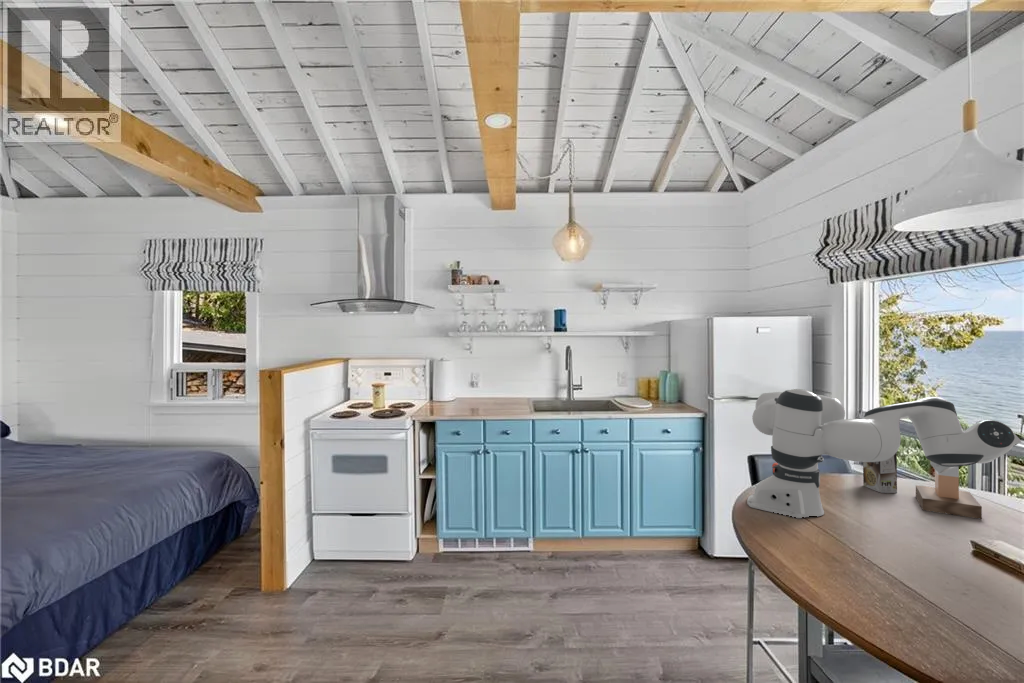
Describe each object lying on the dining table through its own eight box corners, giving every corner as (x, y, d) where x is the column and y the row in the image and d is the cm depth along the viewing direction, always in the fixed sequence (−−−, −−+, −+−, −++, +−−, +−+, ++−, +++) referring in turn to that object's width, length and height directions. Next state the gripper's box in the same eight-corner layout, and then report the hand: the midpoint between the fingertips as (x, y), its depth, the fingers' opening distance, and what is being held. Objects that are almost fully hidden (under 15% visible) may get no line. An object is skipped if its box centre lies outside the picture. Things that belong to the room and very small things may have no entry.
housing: (938, 496, 156) (938, 460, 156) (935, 491, 161) (935, 456, 161) (958, 499, 153) (958, 462, 153) (954, 493, 158) (954, 458, 158)
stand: (922, 510, 155) (922, 498, 154) (915, 496, 168) (915, 485, 168) (981, 519, 147) (981, 506, 147) (969, 503, 160) (969, 492, 160)
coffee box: (898, 493, 171) (897, 449, 171) (880, 493, 171) (880, 449, 171) (879, 485, 180) (878, 443, 180) (862, 485, 180) (861, 443, 180)
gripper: (948, 474, 130) (937, 481, 141) (1028, 438, 125) (1010, 448, 136) (929, 453, 134) (920, 462, 144) (1006, 418, 128) (991, 430, 139)
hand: (964, 455), depth 140 cm, fingers open, 8 cm apart
